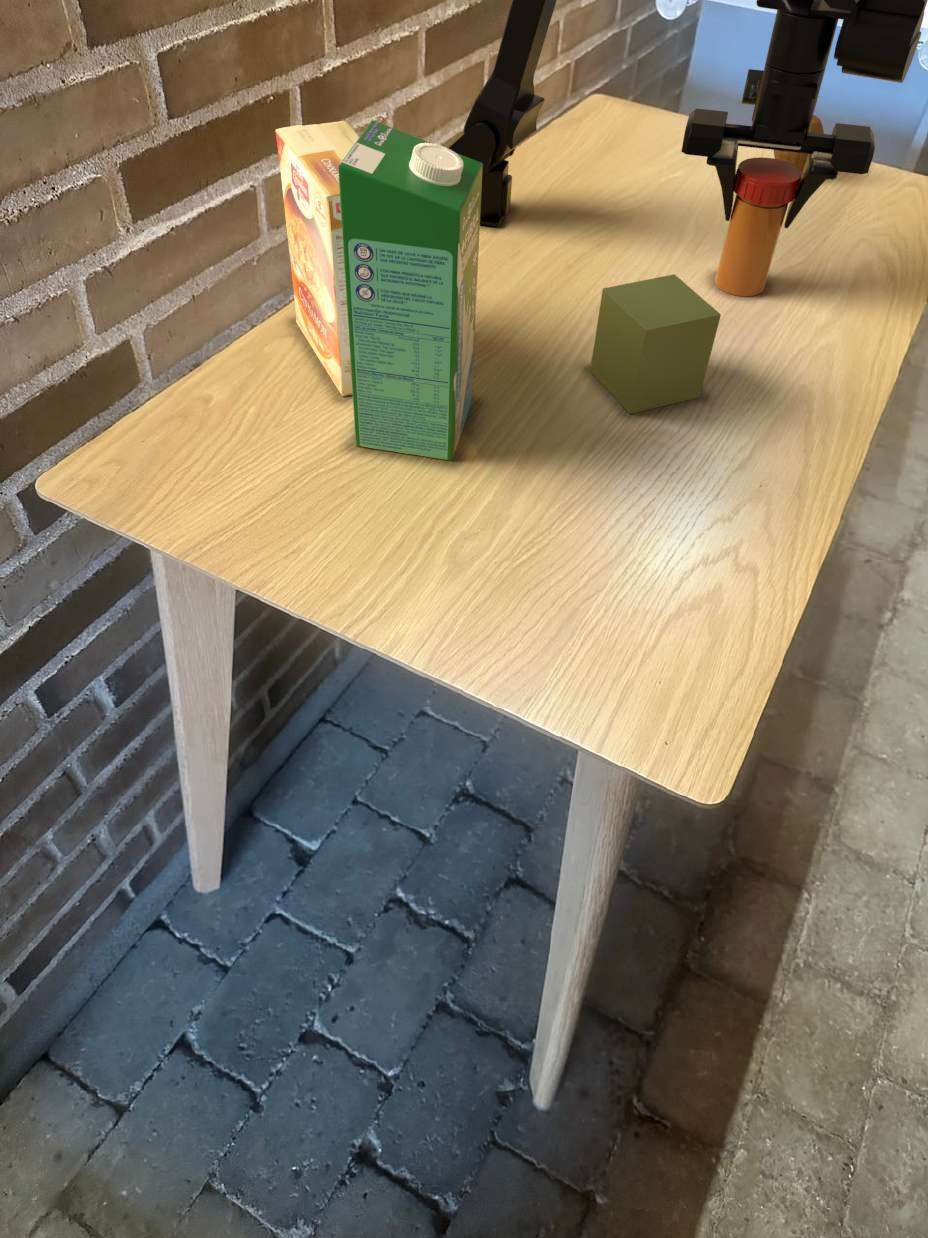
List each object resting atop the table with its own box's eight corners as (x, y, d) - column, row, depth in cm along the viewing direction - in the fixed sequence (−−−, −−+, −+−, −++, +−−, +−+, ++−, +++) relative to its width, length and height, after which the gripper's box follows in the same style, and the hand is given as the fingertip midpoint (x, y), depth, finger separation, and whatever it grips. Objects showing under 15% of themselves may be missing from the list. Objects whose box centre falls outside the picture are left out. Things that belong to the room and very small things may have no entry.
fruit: (812, 167, 131) (831, 105, 125) (812, 185, 127) (831, 122, 121) (767, 161, 132) (783, 99, 126) (766, 179, 128) (782, 116, 122)
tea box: (589, 370, 95) (602, 287, 88) (657, 355, 97) (674, 273, 91) (629, 414, 90) (646, 330, 83) (699, 397, 92) (721, 314, 86)
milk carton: (452, 461, 84) (461, 178, 66) (355, 446, 85) (337, 163, 67) (471, 404, 90) (484, 130, 72) (380, 391, 91) (370, 117, 73)
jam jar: (713, 291, 107) (739, 185, 98) (716, 269, 110) (742, 164, 101) (762, 299, 106) (794, 192, 97) (764, 276, 110) (795, 171, 101)
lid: (735, 174, 103) (740, 153, 101) (796, 183, 102) (803, 162, 100) (730, 200, 99) (735, 177, 97) (794, 209, 98) (801, 187, 96)
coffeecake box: (294, 322, 99) (272, 126, 85) (357, 310, 101) (347, 117, 87) (339, 398, 90) (324, 194, 76) (408, 383, 92) (406, 182, 78)
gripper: (891, 48, 95) (844, 203, 106) (706, 31, 98) (679, 183, 110) (897, 84, 88) (845, 246, 99) (696, 64, 91) (668, 224, 102)
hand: (756, 222), depth 103 cm, fingers closed on lid, 6 cm apart
